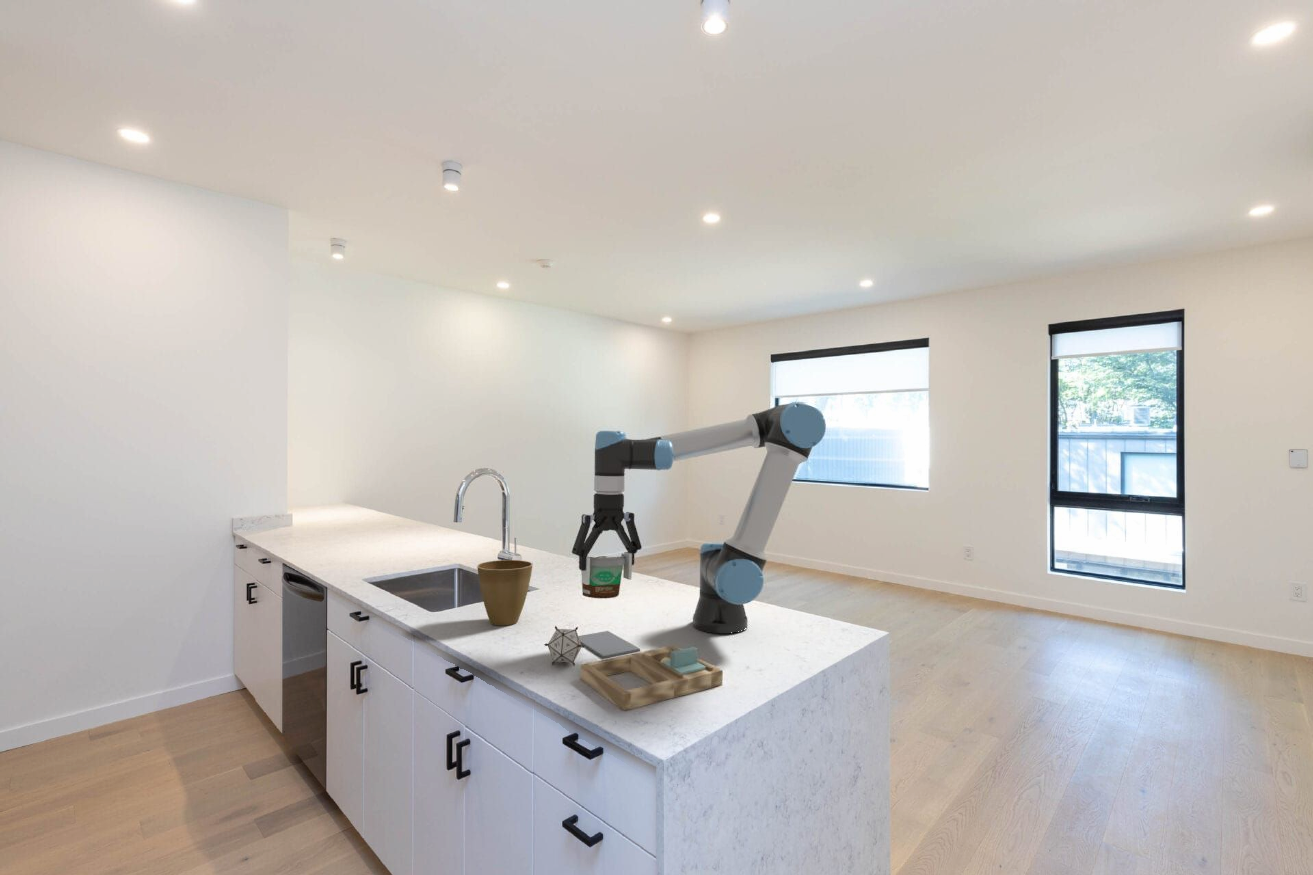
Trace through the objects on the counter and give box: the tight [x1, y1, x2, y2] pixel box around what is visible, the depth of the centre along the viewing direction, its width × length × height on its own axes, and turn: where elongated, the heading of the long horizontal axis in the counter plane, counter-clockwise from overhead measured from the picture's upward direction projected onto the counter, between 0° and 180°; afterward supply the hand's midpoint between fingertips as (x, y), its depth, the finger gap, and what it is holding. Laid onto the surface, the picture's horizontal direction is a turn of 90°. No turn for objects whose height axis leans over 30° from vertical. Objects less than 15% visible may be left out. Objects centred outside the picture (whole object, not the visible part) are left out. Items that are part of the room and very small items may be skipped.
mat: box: [578, 630, 641, 660], centre depth 149 cm, size 10×16×1 cm, turn 34°
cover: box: [662, 646, 706, 675], centre depth 128 cm, size 7×7×4 cm
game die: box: [543, 625, 586, 667], centre depth 137 cm, size 9×8×10 cm
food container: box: [580, 552, 626, 599], centre depth 149 cm, size 12×6×10 cm, turn 118°
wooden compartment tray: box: [580, 645, 724, 712], centre depth 127 cm, size 24×18×4 cm
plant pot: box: [476, 559, 533, 627], centre depth 167 cm, size 15×15×16 cm
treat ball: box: [660, 658, 670, 663], centre depth 133 cm, size 3×3×3 cm
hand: (606, 580), depth 150 cm, fingers closed on food container, 11 cm apart
